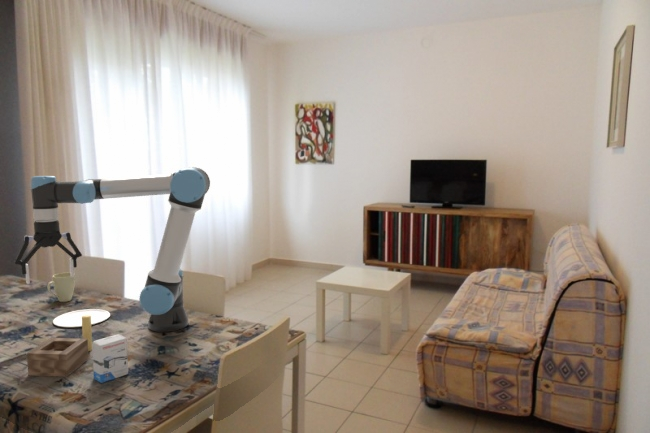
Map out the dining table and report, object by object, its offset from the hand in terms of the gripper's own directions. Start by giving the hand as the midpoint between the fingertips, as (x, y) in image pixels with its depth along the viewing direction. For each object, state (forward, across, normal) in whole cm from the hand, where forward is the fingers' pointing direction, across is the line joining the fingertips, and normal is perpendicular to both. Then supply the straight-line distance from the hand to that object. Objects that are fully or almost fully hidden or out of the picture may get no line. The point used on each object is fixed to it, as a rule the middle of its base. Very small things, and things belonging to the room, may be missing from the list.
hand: (50, 279), depth 160 cm
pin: (+23, -7, +15) cm, 28 cm away
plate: (+23, -13, -19) cm, 33 cm away
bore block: (+23, +3, +23) cm, 33 cm away
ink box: (+24, -8, +40) cm, 47 cm away
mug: (+23, -12, -49) cm, 55 cm away
